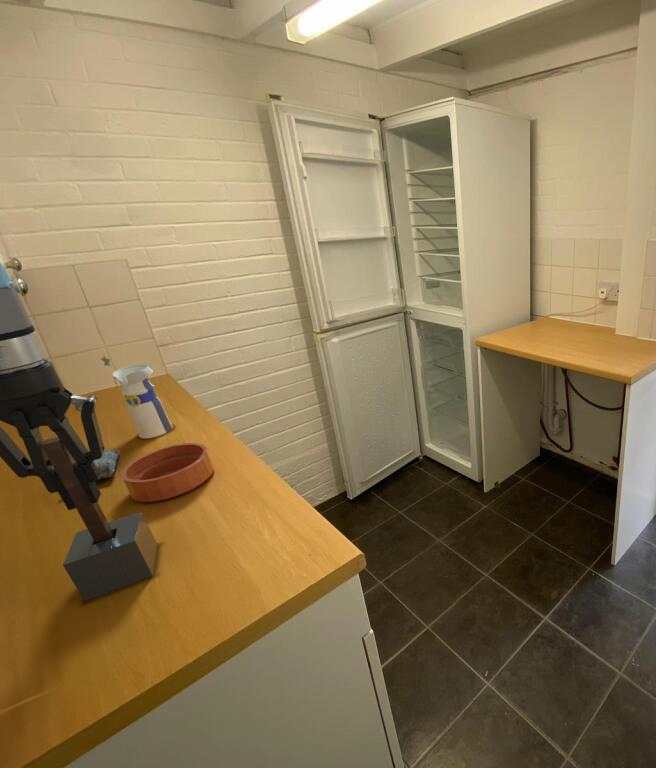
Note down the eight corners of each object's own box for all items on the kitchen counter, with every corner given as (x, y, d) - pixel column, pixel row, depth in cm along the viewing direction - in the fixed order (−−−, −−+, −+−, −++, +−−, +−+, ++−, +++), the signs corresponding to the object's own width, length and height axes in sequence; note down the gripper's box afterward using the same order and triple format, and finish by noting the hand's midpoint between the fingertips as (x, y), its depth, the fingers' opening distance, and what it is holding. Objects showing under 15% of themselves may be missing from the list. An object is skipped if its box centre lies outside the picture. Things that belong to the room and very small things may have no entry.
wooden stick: (107, 565, 71) (40, 445, 62) (109, 558, 73) (44, 439, 63) (122, 560, 72) (59, 441, 63) (124, 552, 74) (62, 435, 64)
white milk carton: (163, 437, 117) (128, 353, 107) (130, 440, 116) (91, 356, 106) (181, 423, 125) (149, 343, 115) (149, 426, 124) (115, 345, 114)
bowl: (127, 514, 87) (115, 491, 85) (136, 478, 99) (126, 457, 97) (215, 487, 95) (206, 465, 93) (214, 456, 107) (206, 436, 105)
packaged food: (68, 494, 94) (59, 476, 92) (79, 470, 103) (70, 453, 101) (119, 480, 99) (110, 463, 97) (125, 458, 108) (117, 442, 106)
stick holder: (85, 601, 68) (62, 565, 65) (96, 566, 75) (76, 532, 72) (153, 575, 72) (134, 540, 69) (157, 544, 79) (141, 511, 76)
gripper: (-87, 388, 51) (10, 535, 61) (78, 362, 59) (141, 496, 68) (-57, 370, 57) (27, 507, 67) (90, 348, 65) (146, 474, 74)
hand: (84, 501), depth 67 cm, fingers closed on wooden stick, 2 cm apart
